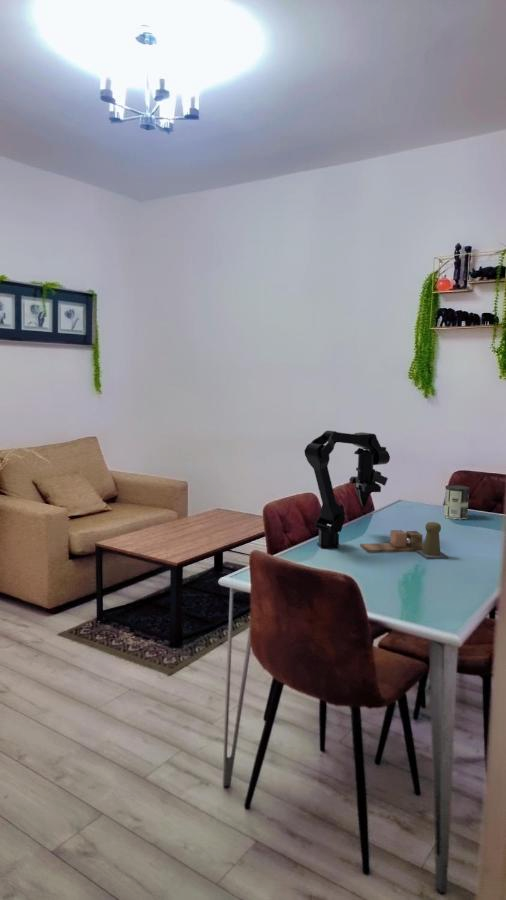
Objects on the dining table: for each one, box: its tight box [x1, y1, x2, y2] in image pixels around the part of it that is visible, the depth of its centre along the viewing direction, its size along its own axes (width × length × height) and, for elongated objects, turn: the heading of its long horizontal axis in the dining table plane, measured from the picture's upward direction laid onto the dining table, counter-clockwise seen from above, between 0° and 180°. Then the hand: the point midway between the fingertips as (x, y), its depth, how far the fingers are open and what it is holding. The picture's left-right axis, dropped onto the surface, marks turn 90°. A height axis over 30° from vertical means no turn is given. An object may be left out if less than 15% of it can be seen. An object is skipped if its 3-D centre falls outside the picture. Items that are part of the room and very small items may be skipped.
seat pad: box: [416, 550, 449, 560], centre depth 208 cm, size 8×8×1 cm
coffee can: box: [443, 484, 470, 521], centre depth 267 cm, size 10×10×14 cm
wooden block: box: [389, 529, 411, 547], centre depth 216 cm, size 10×5×5 cm, turn 99°
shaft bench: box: [359, 530, 425, 554], centre depth 215 cm, size 24×8×6 cm, turn 99°
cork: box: [423, 521, 442, 556], centre depth 208 cm, size 6×6×11 cm
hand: (363, 506), depth 225 cm, fingers closed
